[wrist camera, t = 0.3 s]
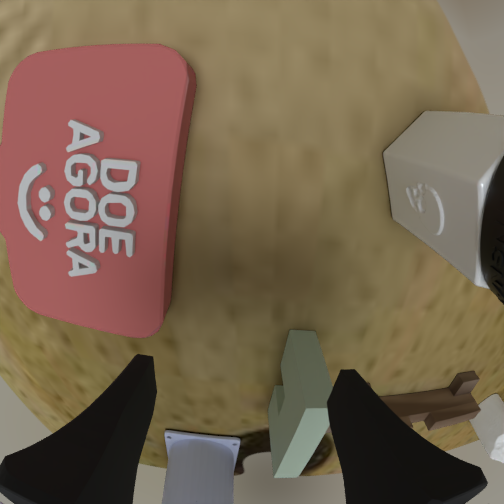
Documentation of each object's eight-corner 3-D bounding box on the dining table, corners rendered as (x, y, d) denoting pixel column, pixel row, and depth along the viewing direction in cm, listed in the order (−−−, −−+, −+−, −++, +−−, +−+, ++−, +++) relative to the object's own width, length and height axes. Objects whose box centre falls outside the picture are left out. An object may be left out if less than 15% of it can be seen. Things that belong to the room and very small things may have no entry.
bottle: (530, 447, 18) (535, 449, 20) (493, 389, 29) (501, 396, 31) (494, 477, 20) (503, 476, 21) (463, 417, 31) (474, 422, 32)
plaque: (-20, 63, 10) (194, 42, 12) (13, 66, 14) (203, 57, 15) (-9, 303, 17) (161, 349, 19) (14, 281, 21) (171, 316, 22)
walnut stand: (450, 405, 29) (464, 430, 25) (322, 421, 27) (329, 456, 23) (473, 370, 26) (491, 396, 22) (340, 384, 25) (352, 422, 21)
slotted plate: (288, 410, 26) (297, 477, 19) (267, 410, 26) (273, 477, 19) (315, 331, 22) (338, 407, 16) (289, 329, 22) (306, 408, 15)
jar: (371, 118, 16) (522, 132, 5) (465, 106, 16) (603, 126, 5) (391, 248, 20) (496, 361, 9) (475, 221, 19) (584, 296, 8)
